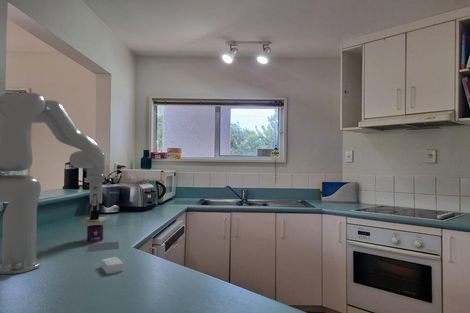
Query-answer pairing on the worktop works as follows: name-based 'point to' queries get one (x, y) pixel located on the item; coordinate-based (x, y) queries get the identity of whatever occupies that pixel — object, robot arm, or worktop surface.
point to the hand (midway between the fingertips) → (95, 218)
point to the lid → (88, 220)
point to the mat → (103, 246)
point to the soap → (112, 265)
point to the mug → (94, 233)
